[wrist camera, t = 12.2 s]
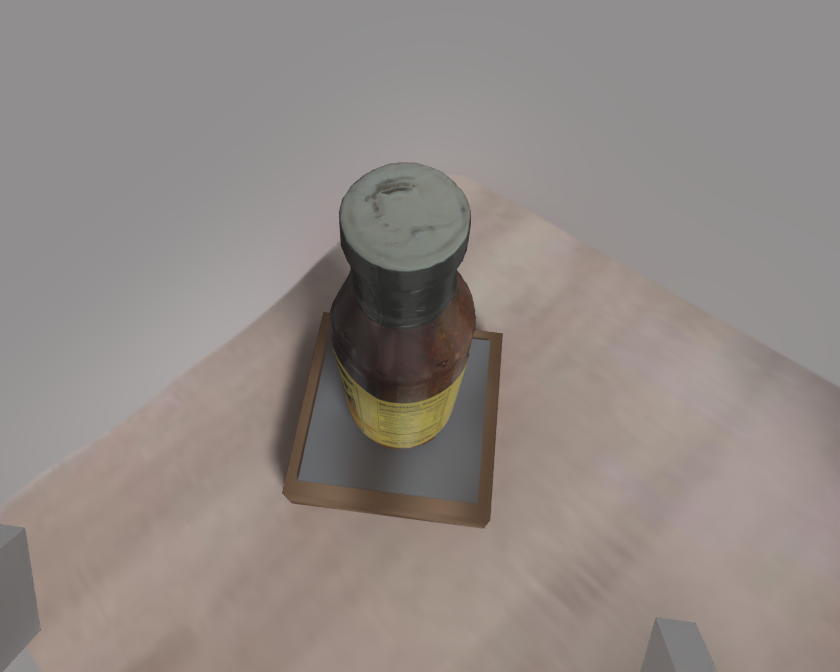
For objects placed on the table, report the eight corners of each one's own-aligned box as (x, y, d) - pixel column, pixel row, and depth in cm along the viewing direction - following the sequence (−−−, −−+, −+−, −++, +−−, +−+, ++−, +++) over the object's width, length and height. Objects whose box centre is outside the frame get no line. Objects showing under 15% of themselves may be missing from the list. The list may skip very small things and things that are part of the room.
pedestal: (496, 352, 41) (503, 331, 38) (483, 528, 36) (490, 519, 33) (328, 332, 41) (322, 309, 38) (291, 503, 36) (281, 491, 33)
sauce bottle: (365, 348, 37) (338, 100, 19) (461, 370, 37) (524, 139, 19) (335, 447, 34) (271, 264, 16) (439, 472, 34) (489, 313, 16)
